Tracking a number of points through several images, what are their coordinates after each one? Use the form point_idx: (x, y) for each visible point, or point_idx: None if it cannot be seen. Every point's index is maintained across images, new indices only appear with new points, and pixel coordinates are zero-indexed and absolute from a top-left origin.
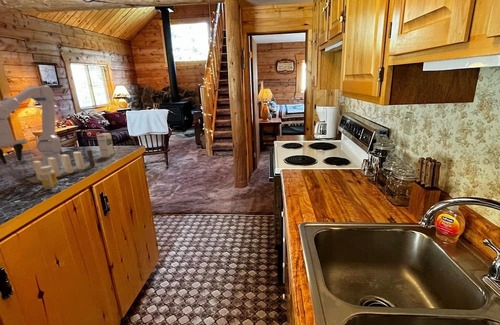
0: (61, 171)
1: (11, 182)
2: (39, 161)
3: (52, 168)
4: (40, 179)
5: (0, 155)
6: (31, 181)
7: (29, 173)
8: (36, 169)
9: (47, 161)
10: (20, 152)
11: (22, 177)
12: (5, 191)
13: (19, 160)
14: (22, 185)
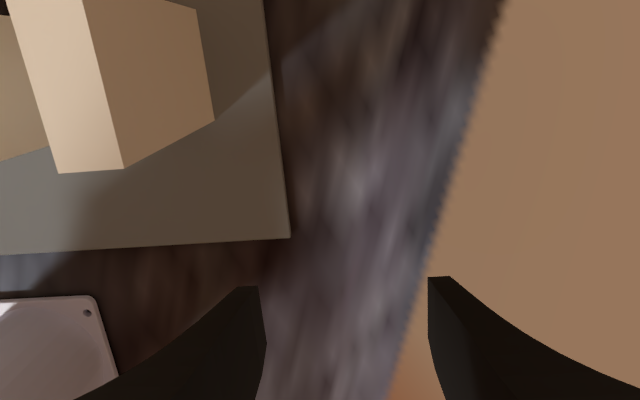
0: (11, 178)
1: (379, 264)
2: (30, 42)
3: (13, 57)
4: (197, 38)
5: (551, 355)
6: (269, 89)
7: None
8: (158, 72)
9: (36, 391)
10: (161, 358)
11: (288, 329)
12: (495, 11)
13: (256, 286)
14: (348, 71)
